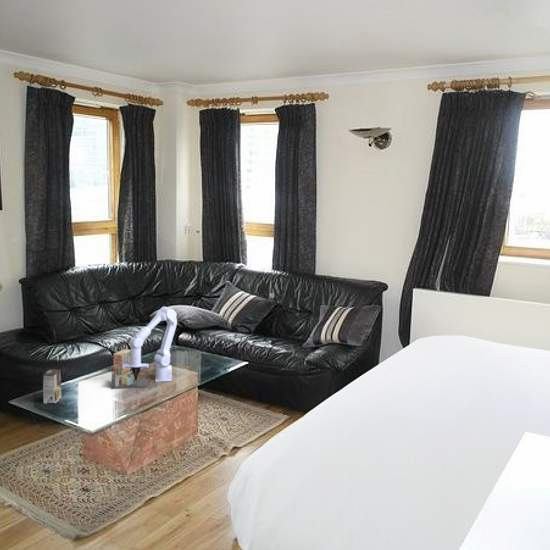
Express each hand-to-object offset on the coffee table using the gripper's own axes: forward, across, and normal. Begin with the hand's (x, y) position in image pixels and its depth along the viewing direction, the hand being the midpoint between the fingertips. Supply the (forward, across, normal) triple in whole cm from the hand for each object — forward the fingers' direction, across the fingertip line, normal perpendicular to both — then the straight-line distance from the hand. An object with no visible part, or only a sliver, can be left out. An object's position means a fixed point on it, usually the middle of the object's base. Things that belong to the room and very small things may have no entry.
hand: (135, 379), depth 347 cm
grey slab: (+3, +4, 0) cm, 5 cm away
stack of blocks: (+3, +5, -31) cm, 32 cm away
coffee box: (+3, +44, +21) cm, 48 cm away
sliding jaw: (+2, +3, 0) cm, 4 cm away
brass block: (+2, +7, 0) cm, 7 cm away
